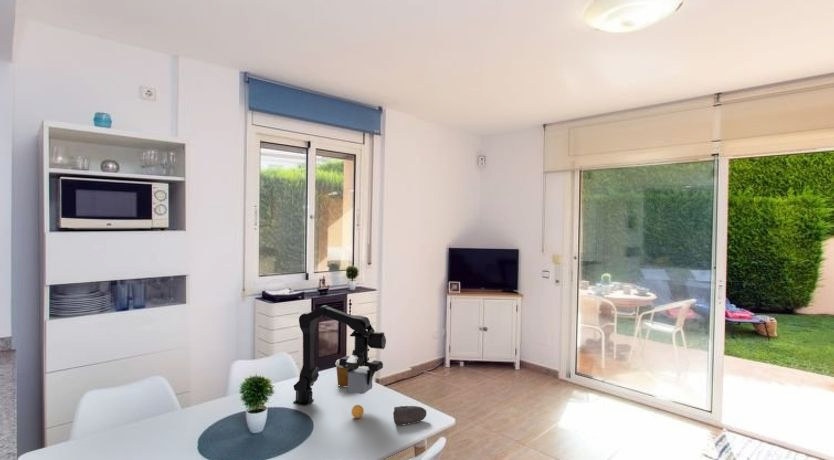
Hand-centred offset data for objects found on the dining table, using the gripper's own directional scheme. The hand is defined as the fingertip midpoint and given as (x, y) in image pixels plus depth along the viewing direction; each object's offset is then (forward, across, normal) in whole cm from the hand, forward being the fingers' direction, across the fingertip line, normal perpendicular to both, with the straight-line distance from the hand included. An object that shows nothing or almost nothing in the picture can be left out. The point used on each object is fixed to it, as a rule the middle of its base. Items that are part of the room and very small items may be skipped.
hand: (360, 383), depth 182 cm
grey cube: (+2, 0, 0) cm, 3 cm away
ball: (+9, +3, -7) cm, 11 cm away
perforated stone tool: (+12, +24, -1) cm, 27 cm away
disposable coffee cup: (+11, -22, +22) cm, 33 cm away
